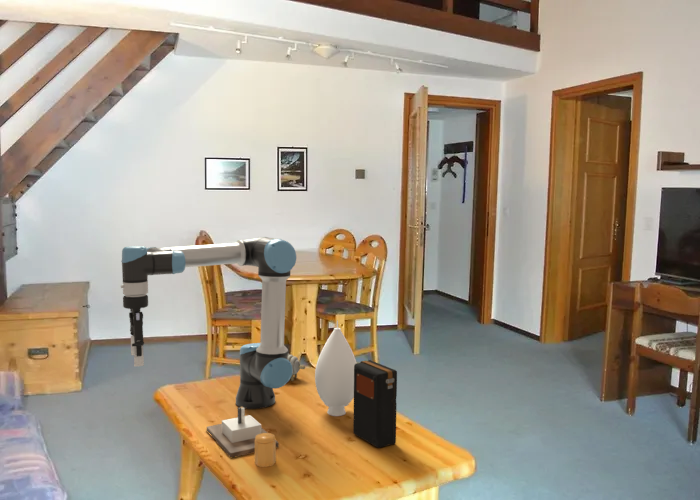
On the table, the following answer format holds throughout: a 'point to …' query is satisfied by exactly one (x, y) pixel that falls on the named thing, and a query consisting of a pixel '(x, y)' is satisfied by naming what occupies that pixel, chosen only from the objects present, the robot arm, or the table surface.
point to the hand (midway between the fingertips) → (137, 360)
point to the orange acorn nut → (265, 449)
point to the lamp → (335, 373)
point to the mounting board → (235, 447)
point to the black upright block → (375, 403)
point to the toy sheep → (295, 366)
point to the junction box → (241, 427)
